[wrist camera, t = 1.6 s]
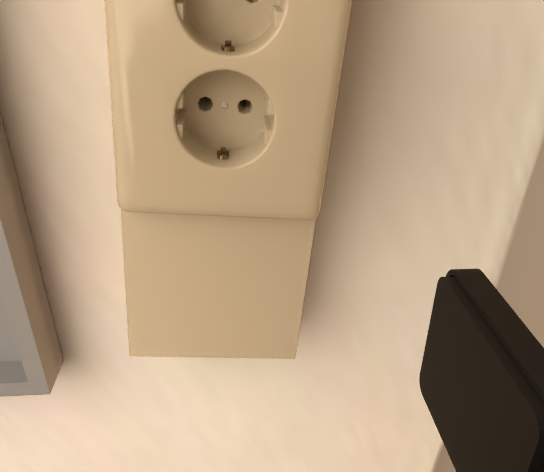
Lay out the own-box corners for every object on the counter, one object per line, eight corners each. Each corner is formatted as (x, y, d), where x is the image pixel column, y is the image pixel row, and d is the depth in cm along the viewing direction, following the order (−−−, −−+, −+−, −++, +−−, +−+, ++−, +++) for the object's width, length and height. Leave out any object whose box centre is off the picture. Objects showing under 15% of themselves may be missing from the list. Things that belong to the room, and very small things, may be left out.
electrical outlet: (125, 371, 21) (89, -176, 13) (140, 310, 25) (119, -153, 16) (297, 373, 22) (377, -141, 13) (288, 314, 26) (346, -125, 17)
